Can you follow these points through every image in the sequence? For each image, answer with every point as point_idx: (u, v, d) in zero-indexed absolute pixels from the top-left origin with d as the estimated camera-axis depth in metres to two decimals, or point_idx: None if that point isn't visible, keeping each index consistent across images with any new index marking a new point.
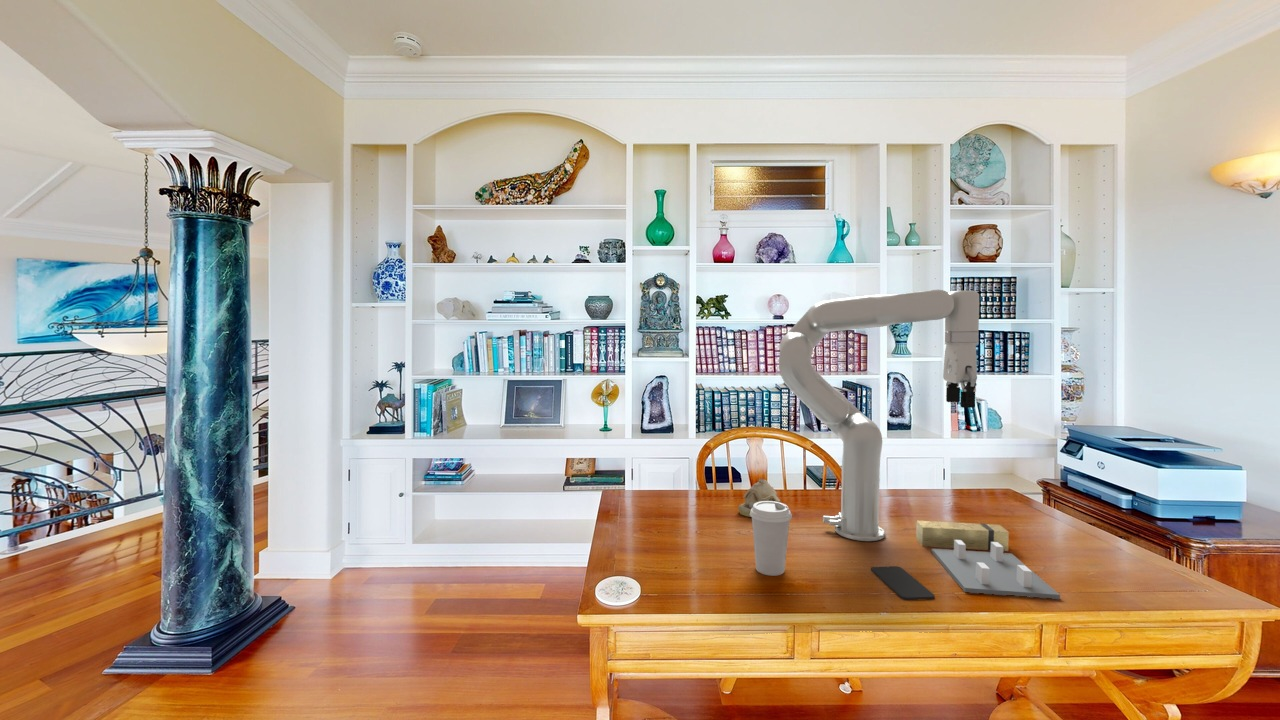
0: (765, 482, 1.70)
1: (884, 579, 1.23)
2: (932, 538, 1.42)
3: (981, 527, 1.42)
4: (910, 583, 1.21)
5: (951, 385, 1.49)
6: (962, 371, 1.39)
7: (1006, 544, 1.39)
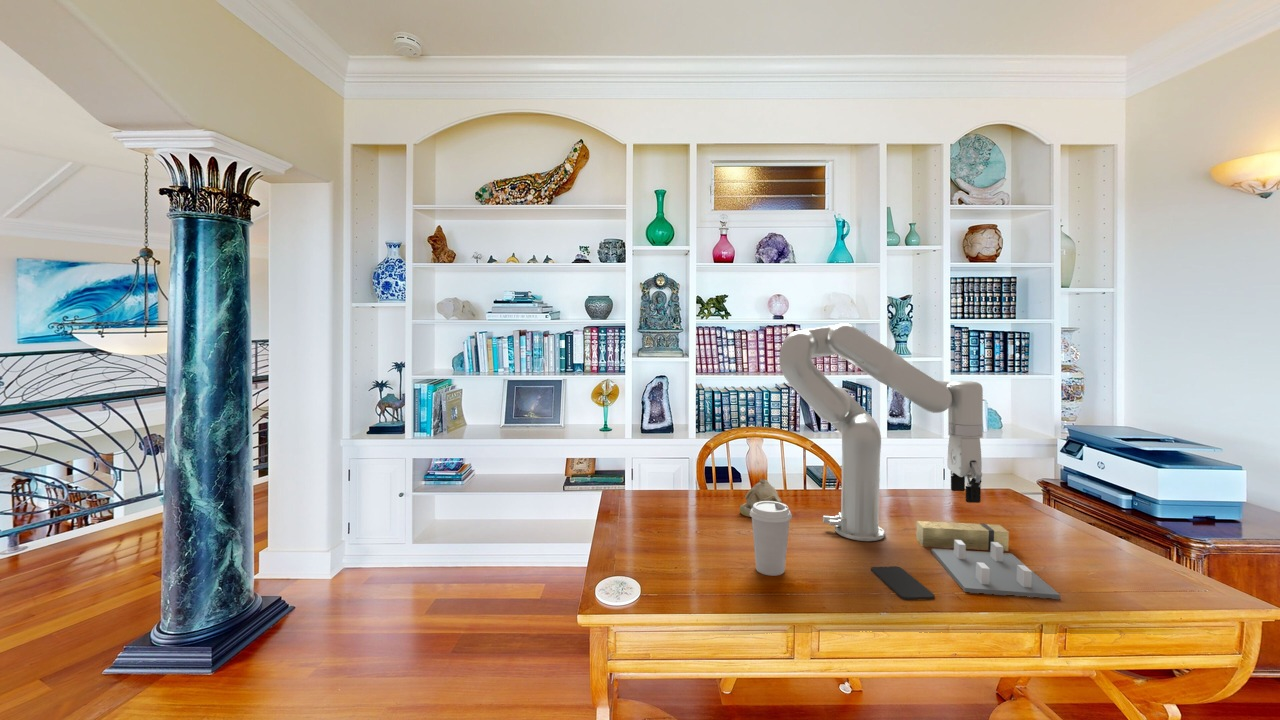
0: (766, 482, 1.70)
1: (884, 579, 1.23)
2: (933, 538, 1.42)
3: (981, 527, 1.42)
4: (910, 583, 1.21)
5: (956, 474, 1.47)
6: (967, 466, 1.37)
7: (1006, 544, 1.39)
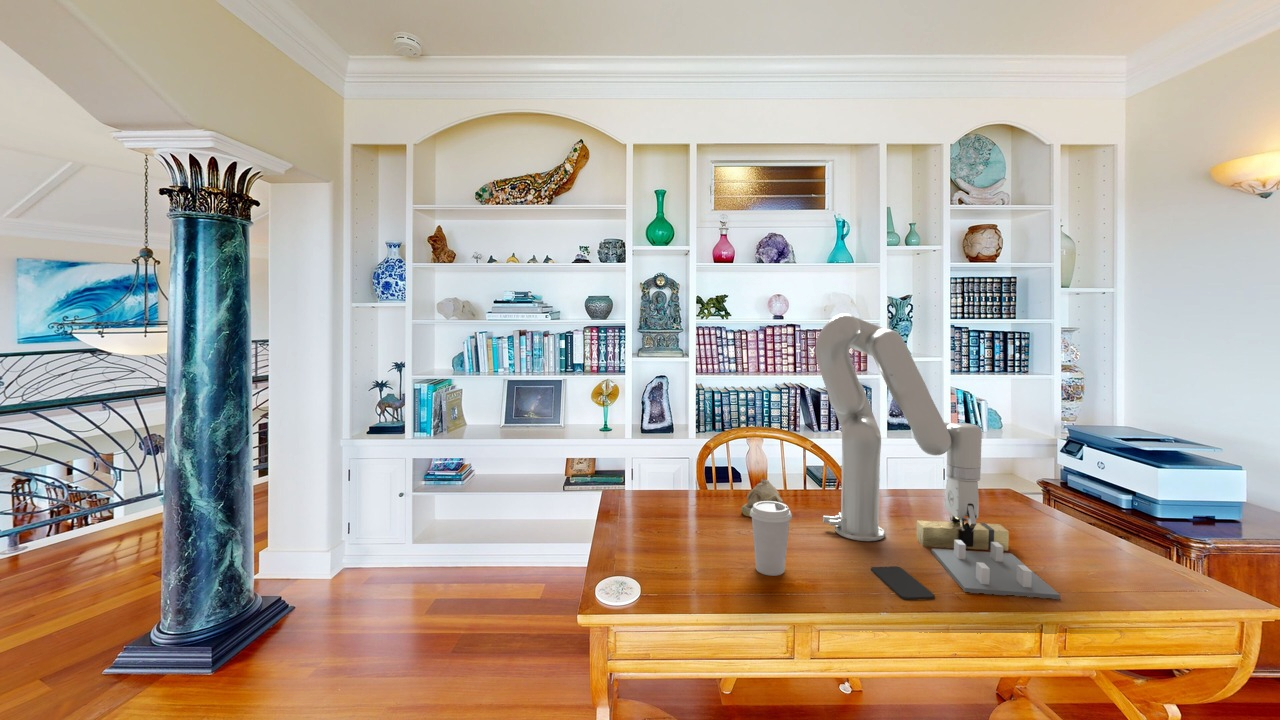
0: (767, 482, 1.70)
1: (884, 579, 1.23)
2: (933, 538, 1.42)
3: (981, 526, 1.42)
4: (911, 583, 1.21)
5: (955, 519, 1.45)
6: (964, 509, 1.38)
7: (1006, 543, 1.39)
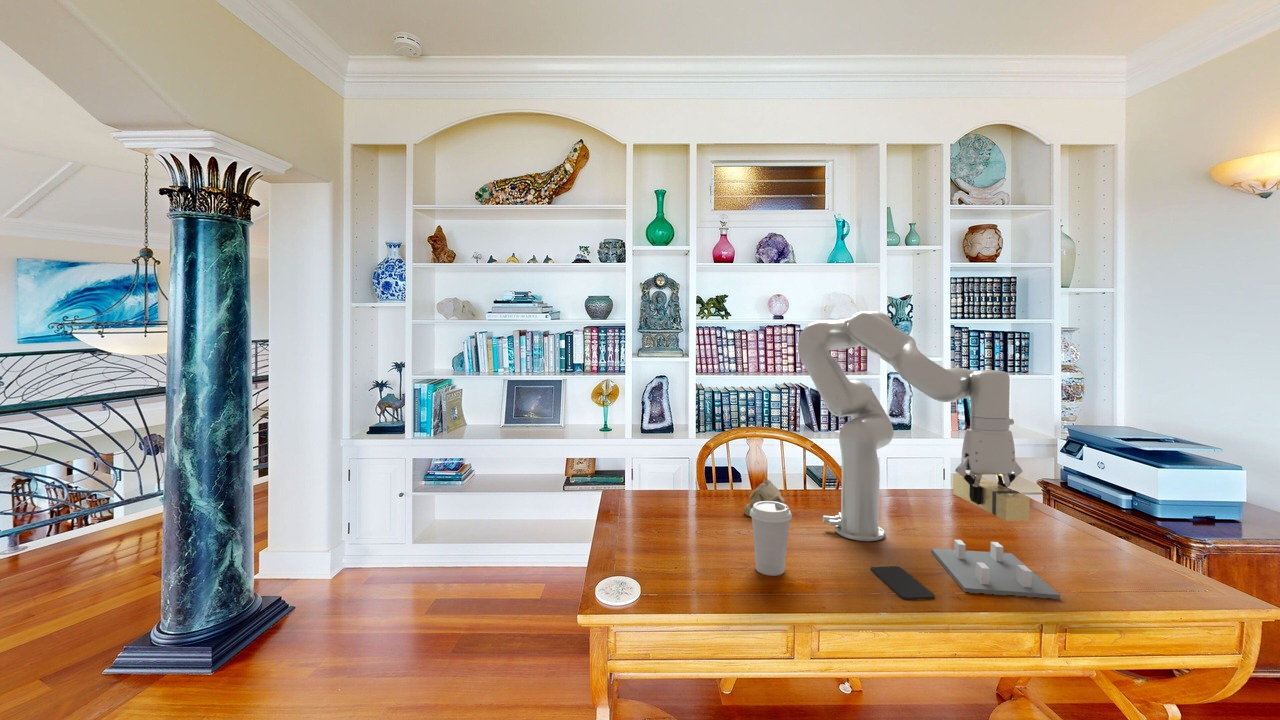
0: (769, 482, 1.70)
1: (884, 579, 1.23)
2: (958, 487, 1.36)
3: (1001, 490, 1.23)
4: (910, 583, 1.21)
5: (999, 481, 1.28)
6: (963, 457, 1.29)
7: (1004, 512, 1.19)
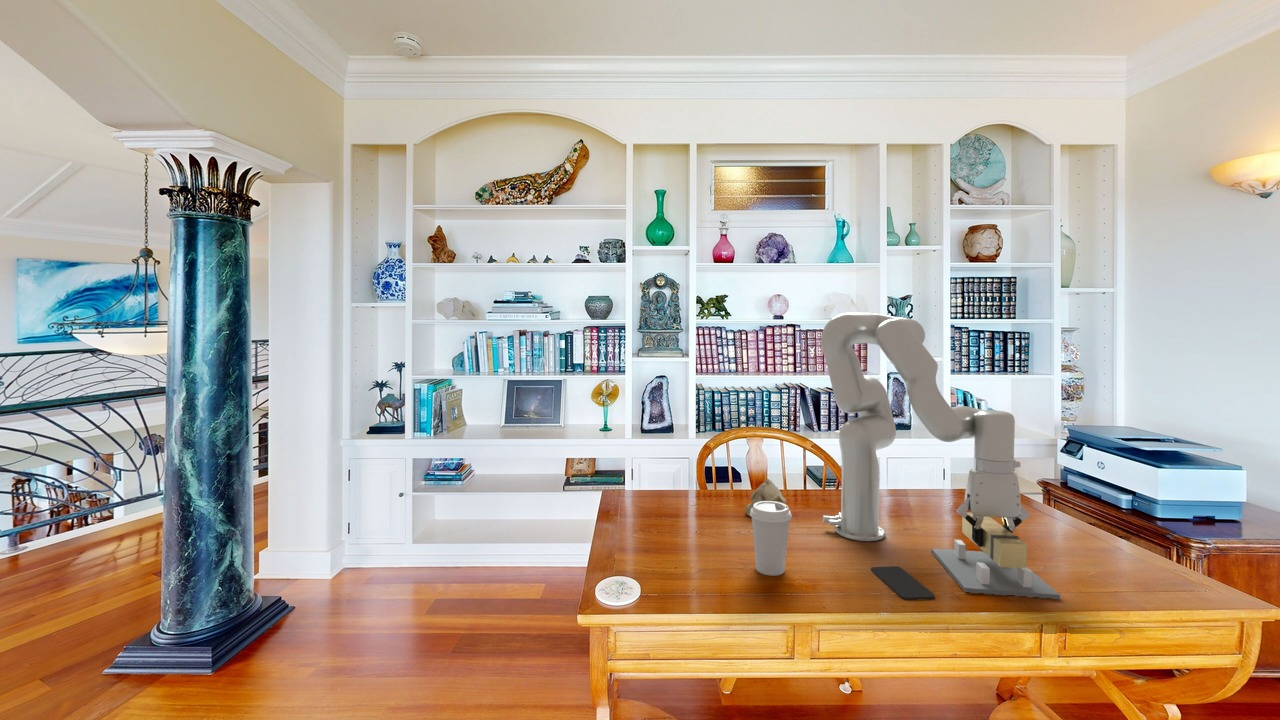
0: (770, 482, 1.70)
1: (884, 579, 1.23)
2: (966, 526, 1.34)
3: (1001, 534, 1.21)
4: (910, 583, 1.21)
5: (1004, 524, 1.26)
6: (965, 498, 1.28)
7: (999, 557, 1.17)
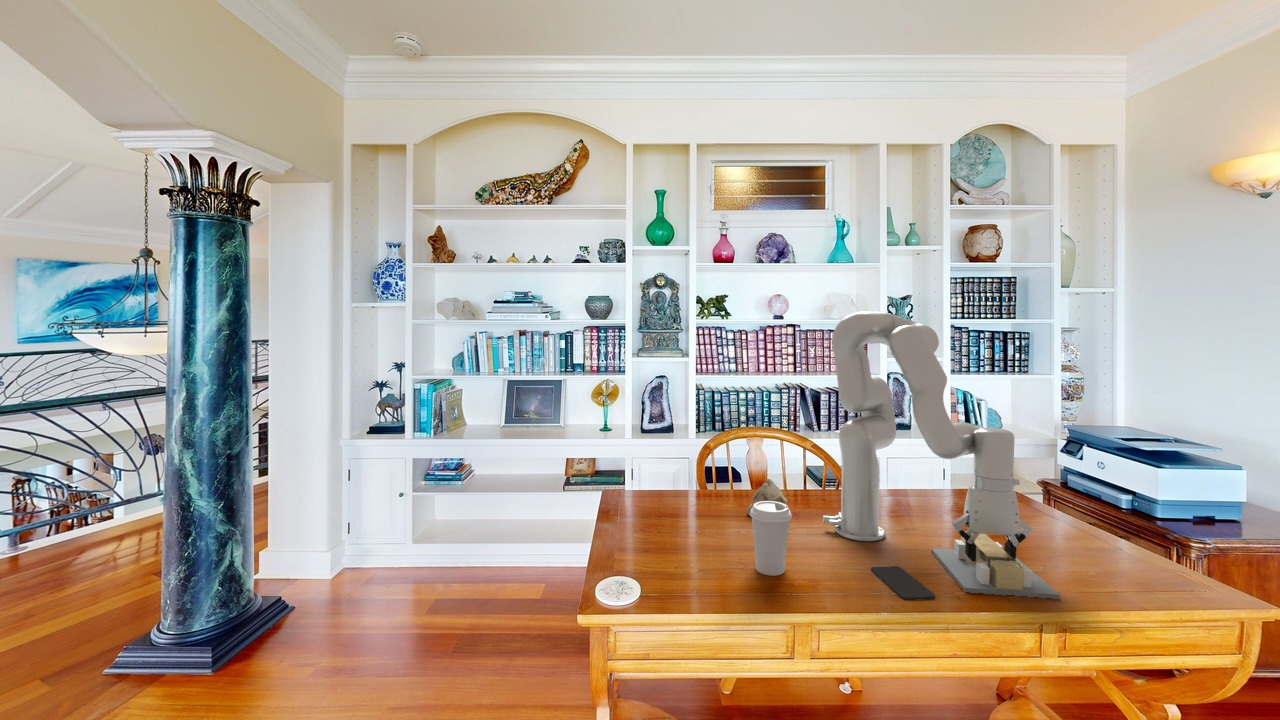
0: (772, 482, 1.70)
1: (884, 579, 1.23)
2: None
3: (998, 556, 1.22)
4: (910, 583, 1.21)
5: (1008, 540, 1.26)
6: None
7: (995, 579, 1.17)
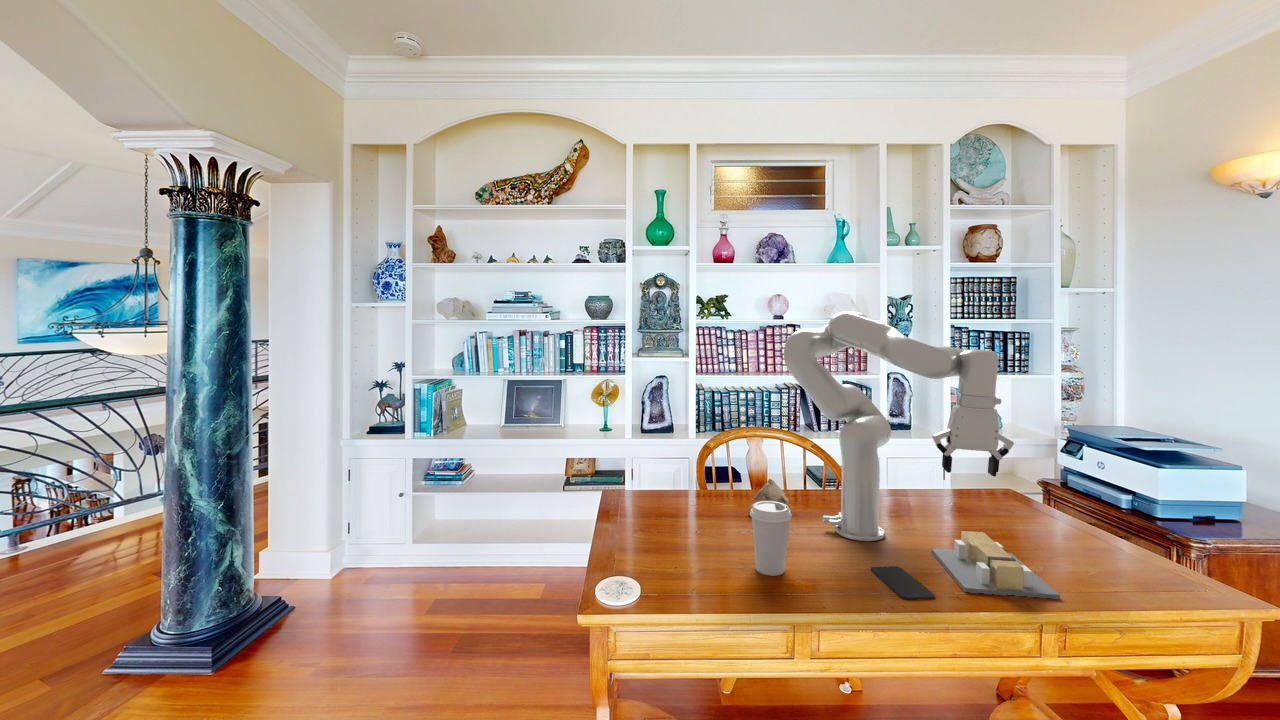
0: (773, 482, 1.70)
1: (884, 579, 1.23)
2: None
3: (998, 556, 1.22)
4: (911, 583, 1.21)
5: (992, 455, 1.32)
6: None
7: (995, 579, 1.17)
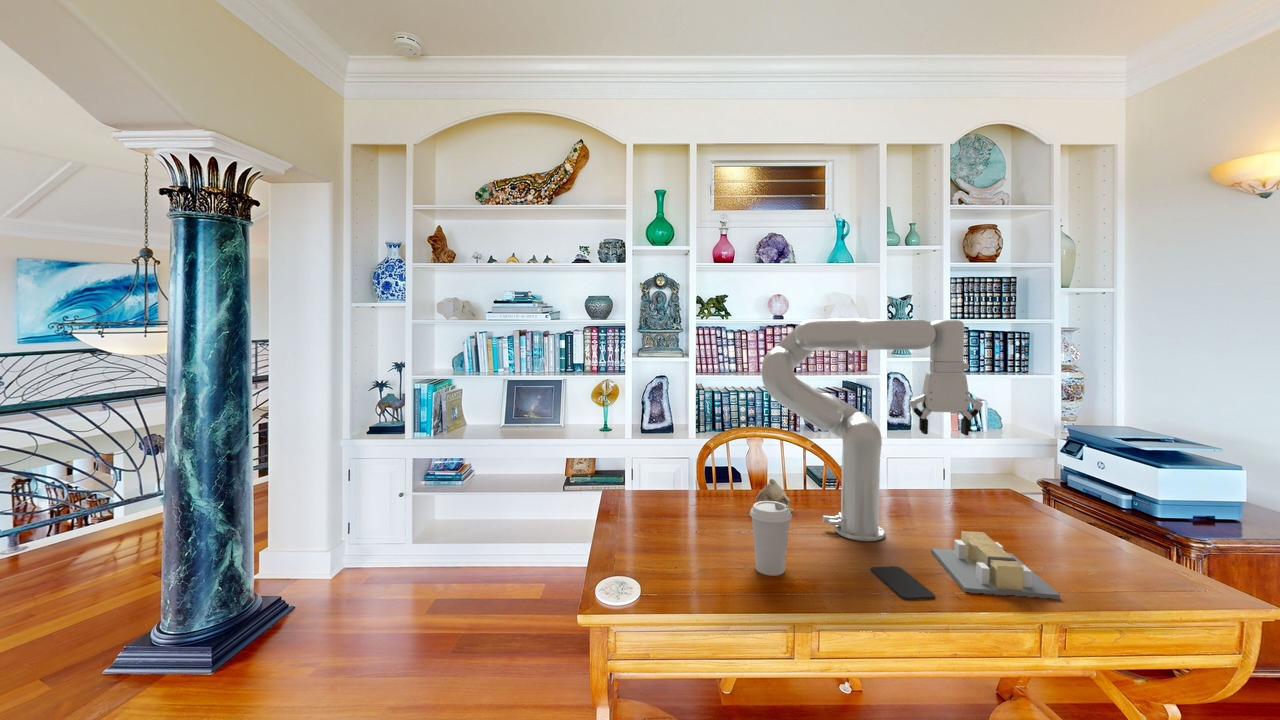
0: (775, 482, 1.70)
1: (884, 579, 1.23)
2: None
3: (998, 556, 1.22)
4: (911, 583, 1.21)
5: (963, 416, 1.43)
6: None
7: (995, 579, 1.17)
